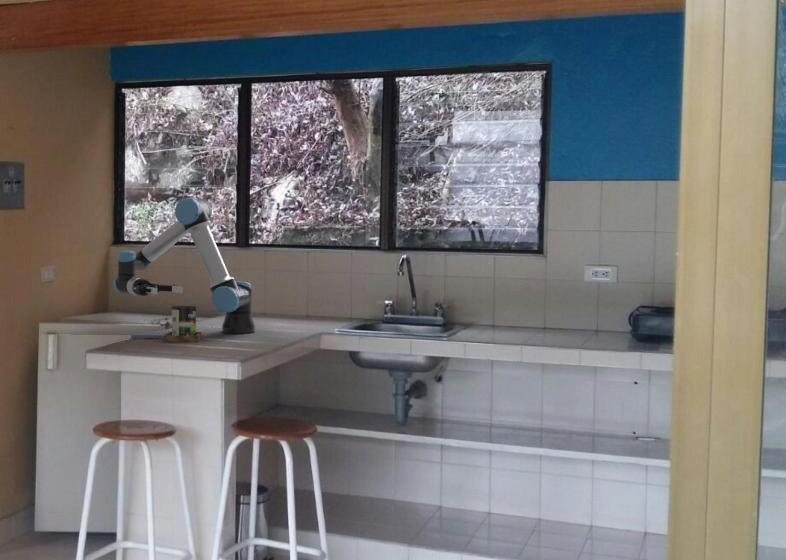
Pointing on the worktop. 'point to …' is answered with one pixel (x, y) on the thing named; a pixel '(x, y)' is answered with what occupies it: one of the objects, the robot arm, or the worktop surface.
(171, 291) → the robot arm
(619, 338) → the worktop surface
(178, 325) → the coffee can
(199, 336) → the walnut collar
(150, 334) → the slate board
